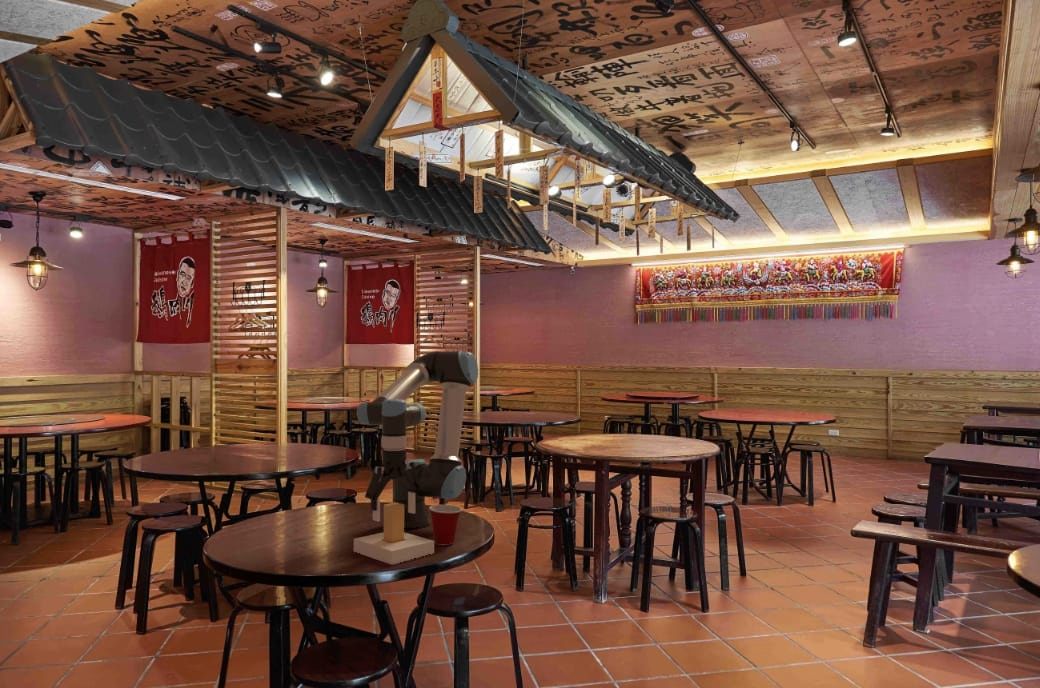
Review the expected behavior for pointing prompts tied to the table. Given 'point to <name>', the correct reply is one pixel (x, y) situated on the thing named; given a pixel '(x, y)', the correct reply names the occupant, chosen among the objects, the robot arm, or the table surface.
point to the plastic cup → (445, 522)
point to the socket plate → (393, 548)
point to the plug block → (393, 522)
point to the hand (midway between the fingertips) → (394, 516)
